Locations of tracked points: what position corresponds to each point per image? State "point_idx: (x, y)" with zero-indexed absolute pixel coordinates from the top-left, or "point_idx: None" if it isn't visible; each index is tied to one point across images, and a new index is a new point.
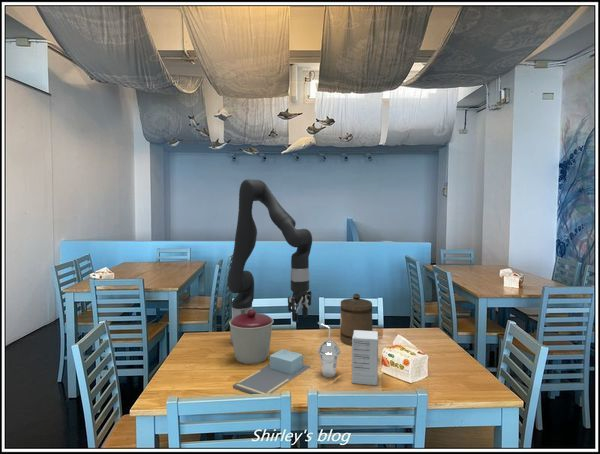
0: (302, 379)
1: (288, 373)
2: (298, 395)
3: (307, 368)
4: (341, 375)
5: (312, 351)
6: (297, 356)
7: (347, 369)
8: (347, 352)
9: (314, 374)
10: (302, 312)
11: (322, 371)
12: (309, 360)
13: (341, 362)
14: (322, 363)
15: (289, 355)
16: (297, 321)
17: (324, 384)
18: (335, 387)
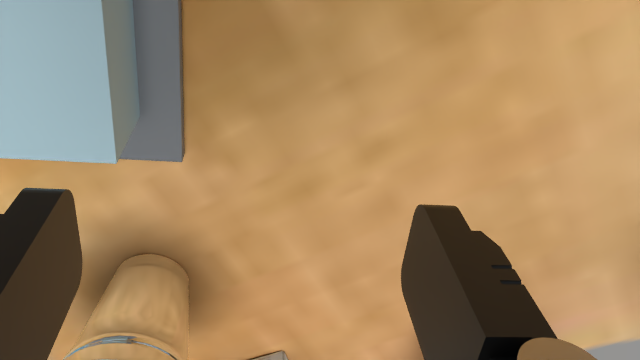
0: (12, 176)
1: None
2: None
3: (138, 155)
4: (214, 320)
5: (496, 10)
6: (44, 145)
7: (303, 316)
8: (549, 230)
9: (128, 204)
10: (441, 261)
11: (109, 287)
12: (315, 74)
13: (380, 259)
14: (78, 338)
15: (7, 69)
16: (80, 274)
17: None
18: (68, 348)
